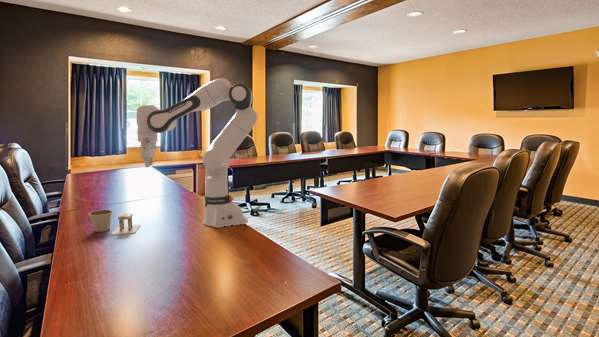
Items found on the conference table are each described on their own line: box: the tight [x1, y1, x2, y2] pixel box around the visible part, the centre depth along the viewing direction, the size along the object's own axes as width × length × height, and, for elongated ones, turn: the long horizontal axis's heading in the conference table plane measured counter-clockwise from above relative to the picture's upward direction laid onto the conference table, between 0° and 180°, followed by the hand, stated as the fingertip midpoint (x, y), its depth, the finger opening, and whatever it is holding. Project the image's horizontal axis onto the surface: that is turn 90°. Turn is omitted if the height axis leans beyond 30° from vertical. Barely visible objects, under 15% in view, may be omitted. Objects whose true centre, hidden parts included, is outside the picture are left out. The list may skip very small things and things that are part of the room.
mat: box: [110, 224, 141, 236], centre depth 155 cm, size 10×12×1 cm
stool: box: [117, 212, 133, 231], centre depth 155 cm, size 5×5×7 cm
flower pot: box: [88, 209, 113, 233], centre depth 154 cm, size 9×9×9 cm
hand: (149, 165), depth 163 cm, fingers open, 8 cm apart
